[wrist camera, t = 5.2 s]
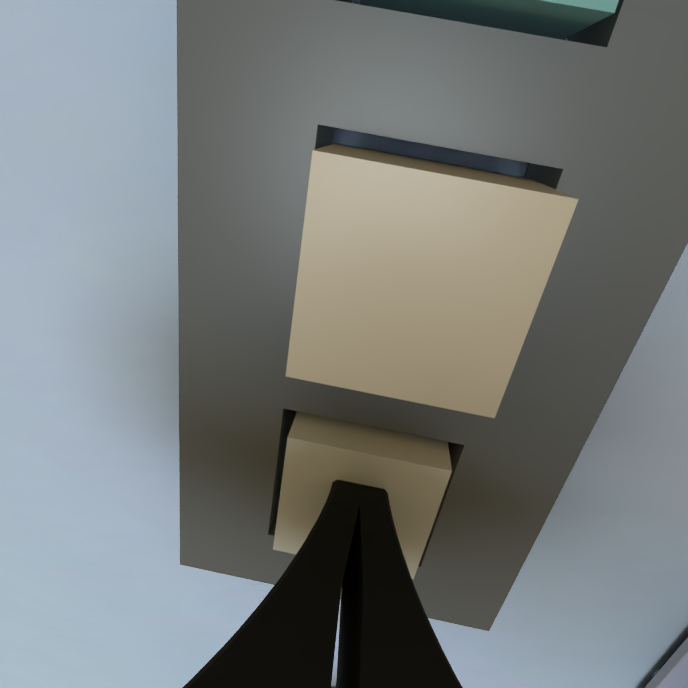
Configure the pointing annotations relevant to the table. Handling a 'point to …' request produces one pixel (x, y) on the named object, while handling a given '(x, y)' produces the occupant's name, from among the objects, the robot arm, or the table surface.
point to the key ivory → (360, 478)
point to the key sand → (420, 276)
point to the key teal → (511, 13)
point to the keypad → (439, 130)
